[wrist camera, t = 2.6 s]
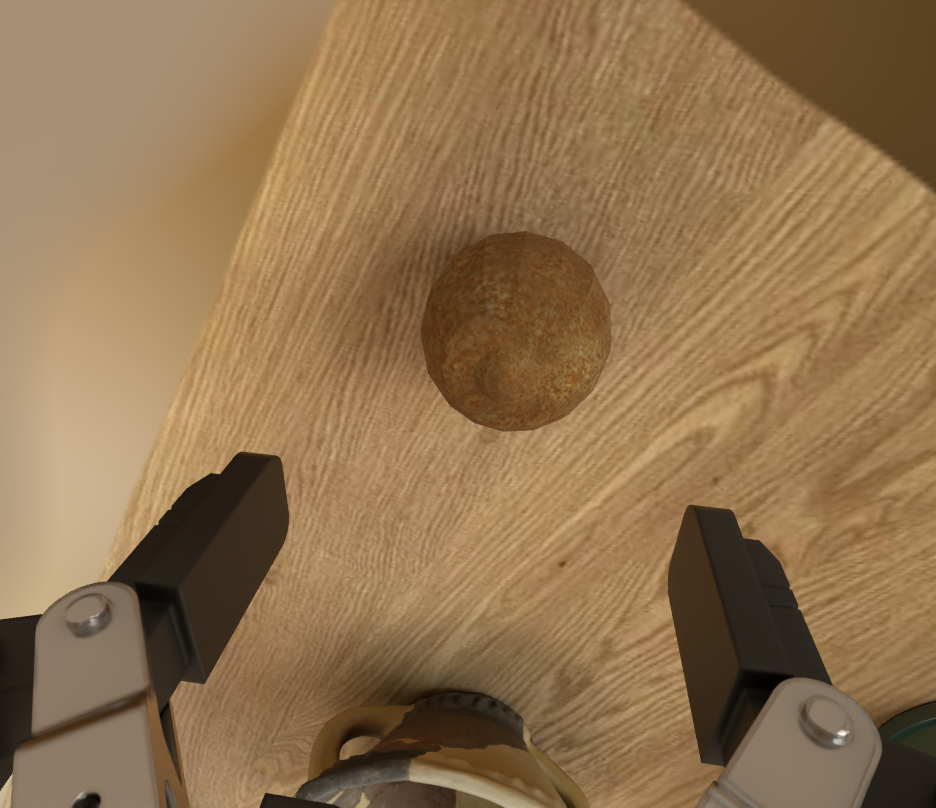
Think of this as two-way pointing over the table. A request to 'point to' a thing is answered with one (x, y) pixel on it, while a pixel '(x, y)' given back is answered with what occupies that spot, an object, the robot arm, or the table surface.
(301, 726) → the table surface
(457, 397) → the fruit
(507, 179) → the table surface
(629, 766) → the table surface
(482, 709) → the bowl
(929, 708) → the cup
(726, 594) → the robot arm
